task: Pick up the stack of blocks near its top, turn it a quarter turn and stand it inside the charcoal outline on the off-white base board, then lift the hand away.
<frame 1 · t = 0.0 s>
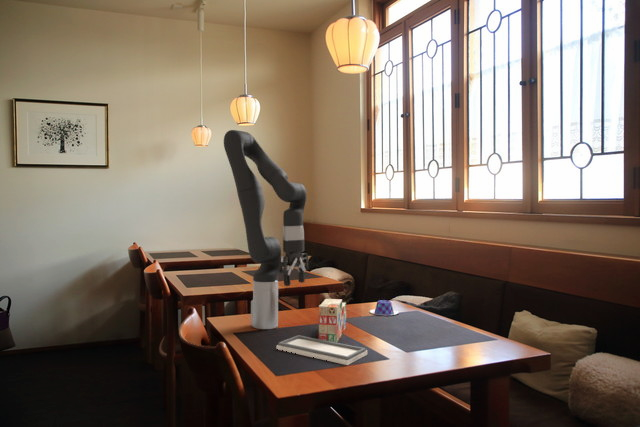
hand: (294, 284, 176), 17 cm above the table, tool pointing down, fingers open, 8 cm apart
blue checkered hat: (384, 314, 207), on the table
base board: (321, 351, 153), on the table
stack of blocks: (333, 334, 174), on the table
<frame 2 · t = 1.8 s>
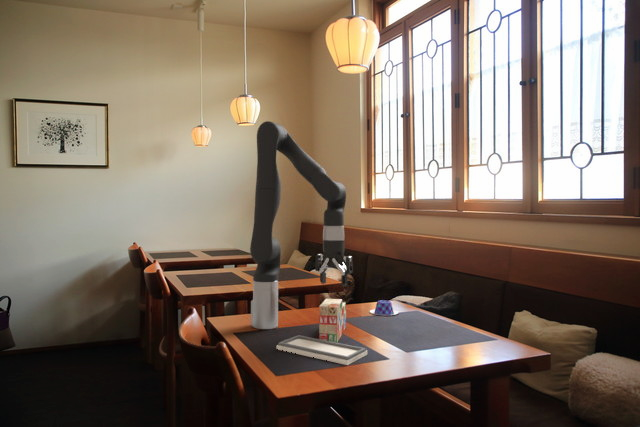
hand: (333, 284, 173), 17 cm above the table, tool pointing down, fingers open, 8 cm apart
nothing on the table moved.
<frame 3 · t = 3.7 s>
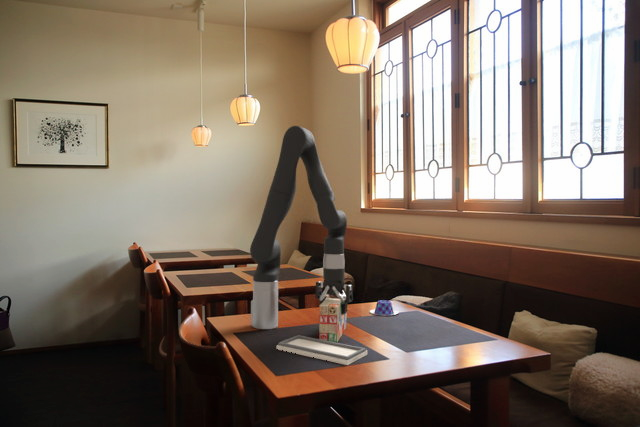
hand: (333, 312, 174), 8 cm above the table, tool pointing down, fingers closed on stack of blocks, 8 cm apart
stack of blocks: (333, 334, 174), on the table, touching gripper
everything else where it was.
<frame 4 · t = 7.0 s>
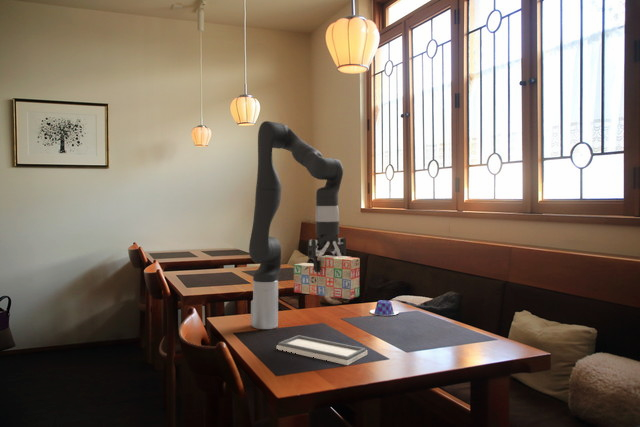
hand: (327, 270, 159), 24 cm above the table, tool pointing down, fingers closed on stack of blocks, 7 cm apart
stack of blocks: (326, 294, 159), point 17 cm above the table, touching gripper
everything else where it was.
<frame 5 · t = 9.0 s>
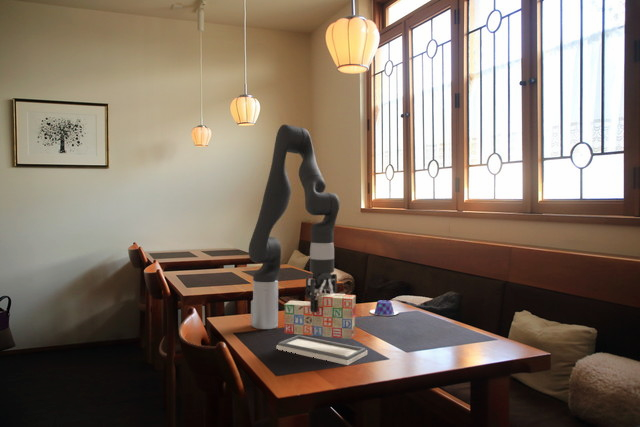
hand: (321, 309, 153), 13 cm above the table, tool pointing down, fingers closed on stack of blocks, 7 cm apart
stack of blocks: (319, 334, 153), point 5 cm above the table, touching gripper
everything else where it was.
when the fingers open (10 cm above the table, at t = 10.6 s): stack of blocks stays where it is, resting on base board.
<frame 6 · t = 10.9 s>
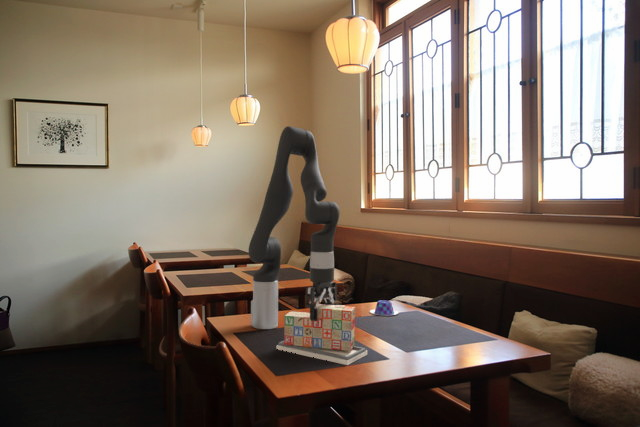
hand: (321, 317, 153), 11 cm above the table, tool pointing down, fingers open, 8 cm apart
stack of blocks: (319, 345, 154), point 2 cm above the table, touching base board
everything else where it was.
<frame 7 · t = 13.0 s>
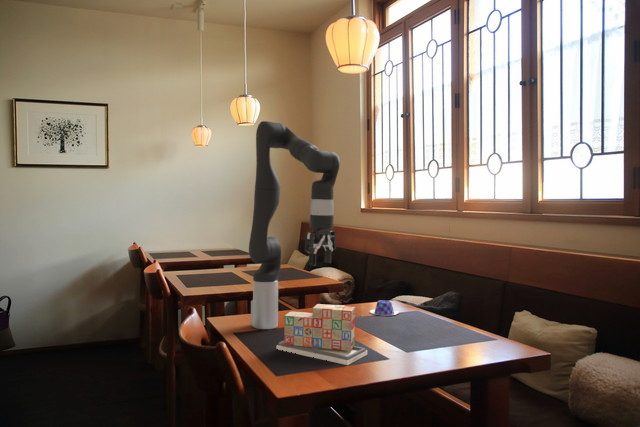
hand: (320, 264, 158), 27 cm above the table, tool pointing down, fingers open, 8 cm apart
nothing on the table moved.
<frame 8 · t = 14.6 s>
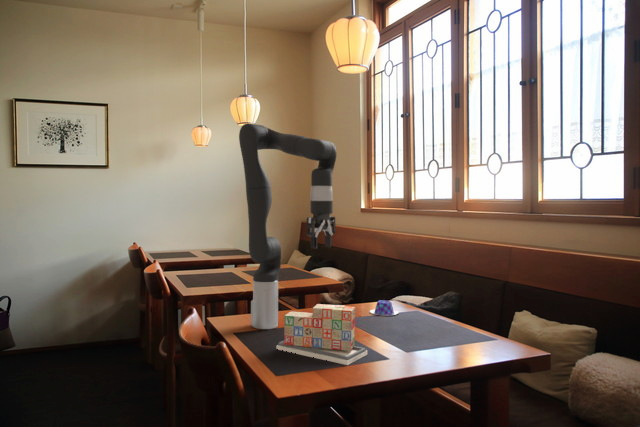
hand: (321, 247, 166), 31 cm above the table, tool pointing down, fingers open, 8 cm apart
nothing on the table moved.
at the end: stack of blocks 0.6 cm off-centre on the base board, point 1.8 cm above the base board's base; stack of blocks tilted 0°; the gripper is holding nothing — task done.
